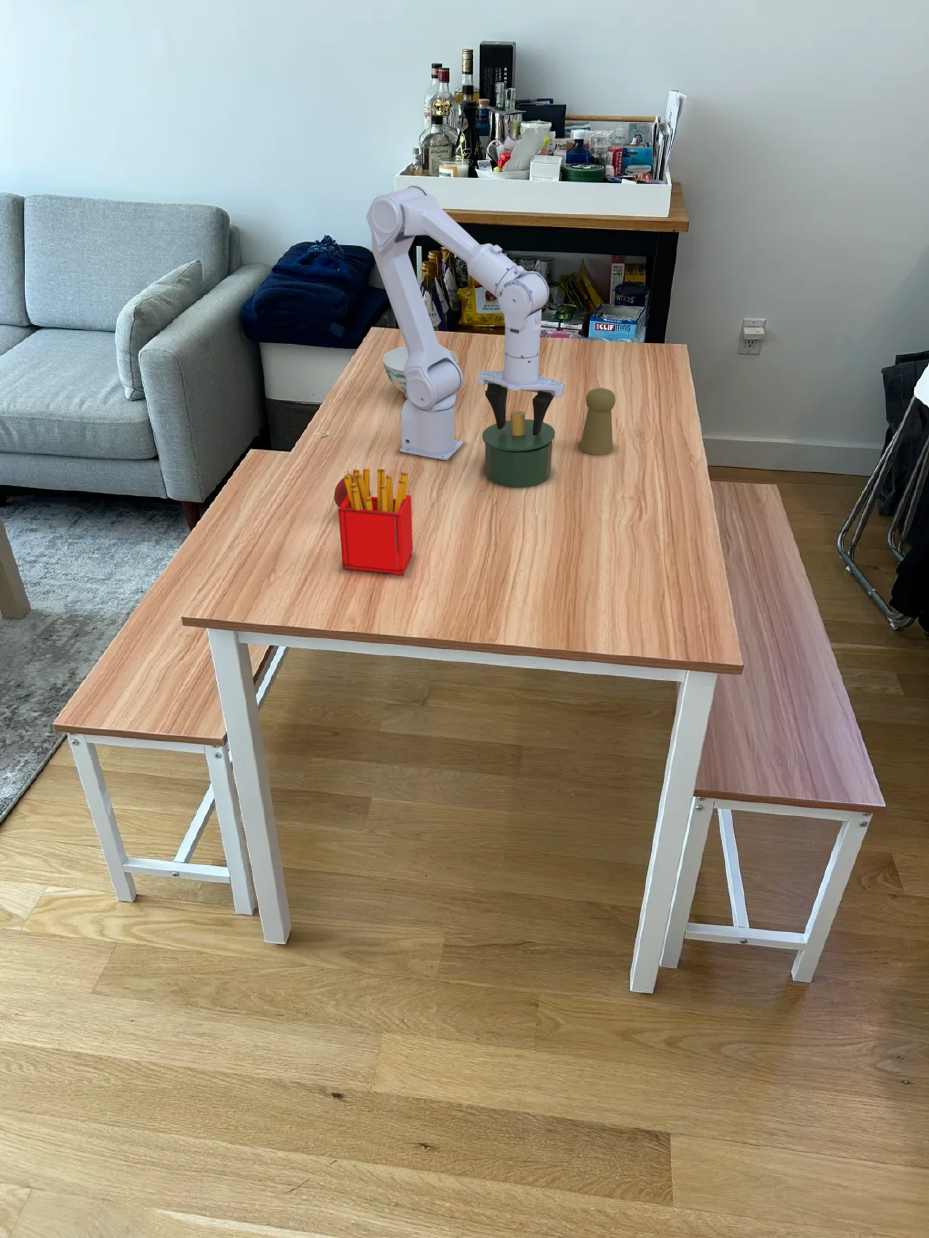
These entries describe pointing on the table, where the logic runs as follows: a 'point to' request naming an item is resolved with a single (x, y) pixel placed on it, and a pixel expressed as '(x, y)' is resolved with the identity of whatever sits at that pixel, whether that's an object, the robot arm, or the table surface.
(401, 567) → the french fries container
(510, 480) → the tin
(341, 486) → the onion
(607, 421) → the olive game pawn
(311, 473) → the table surface
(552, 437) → the lid
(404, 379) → the chinaware
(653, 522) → the table surface
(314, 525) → the table surface
